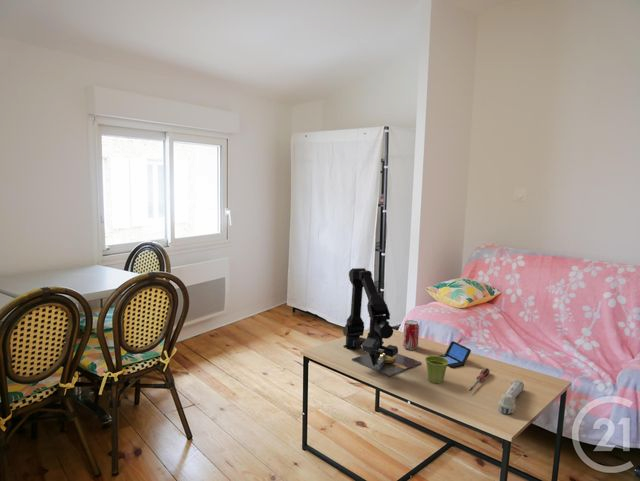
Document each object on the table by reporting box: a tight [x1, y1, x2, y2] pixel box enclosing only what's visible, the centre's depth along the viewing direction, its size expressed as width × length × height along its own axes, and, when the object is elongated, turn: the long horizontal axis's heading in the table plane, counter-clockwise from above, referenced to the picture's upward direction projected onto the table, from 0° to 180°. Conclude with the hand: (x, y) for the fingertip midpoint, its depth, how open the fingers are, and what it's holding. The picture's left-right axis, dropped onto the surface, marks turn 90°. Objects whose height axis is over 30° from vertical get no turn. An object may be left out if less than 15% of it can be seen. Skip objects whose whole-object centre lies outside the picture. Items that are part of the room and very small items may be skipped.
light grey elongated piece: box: [497, 379, 525, 415], centre depth 164 cm, size 5×7×25 cm
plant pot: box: [424, 355, 449, 384], centre depth 179 cm, size 9×9×9 cm
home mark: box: [393, 363, 407, 369], centre depth 192 cm, size 6×2×1 cm, turn 42°
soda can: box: [402, 319, 420, 351], centre depth 215 cm, size 7×7×13 cm
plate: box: [351, 352, 423, 377], centre depth 198 cm, size 22×22×1 cm
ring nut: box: [374, 353, 396, 371], centre depth 193 cm, size 17×8×4 cm, turn 154°
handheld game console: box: [438, 340, 472, 369], centre depth 200 cm, size 12×11×7 cm
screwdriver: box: [468, 368, 490, 392], centre depth 179 cm, size 25×3×3 cm, turn 144°
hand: (374, 365), depth 188 cm, fingers closed
